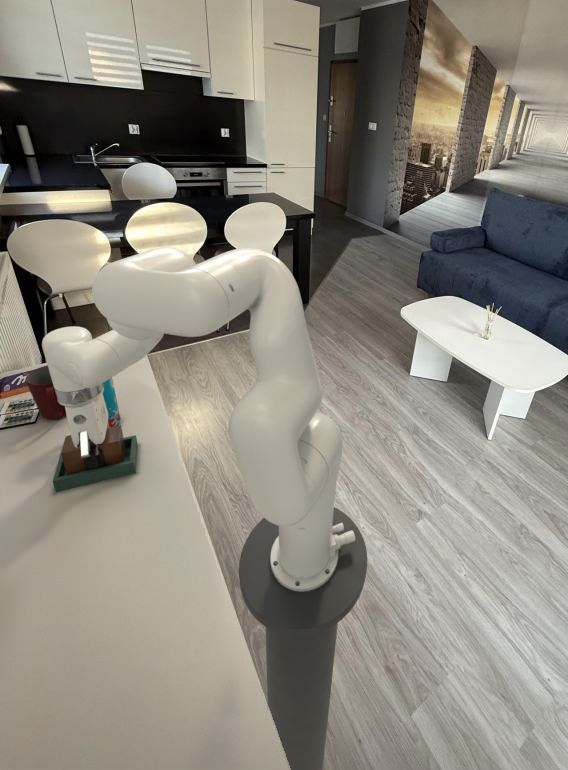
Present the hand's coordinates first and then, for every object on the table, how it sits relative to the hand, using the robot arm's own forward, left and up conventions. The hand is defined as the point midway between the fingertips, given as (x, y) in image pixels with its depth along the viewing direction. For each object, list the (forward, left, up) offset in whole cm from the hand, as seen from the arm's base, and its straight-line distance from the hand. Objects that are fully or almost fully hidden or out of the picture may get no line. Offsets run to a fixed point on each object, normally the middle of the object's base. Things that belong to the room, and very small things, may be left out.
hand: (97, 457), depth 84 cm
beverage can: (0, -14, -3) cm, 14 cm away
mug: (+11, -22, -3) cm, 25 cm away
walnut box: (0, 0, -1) cm, 1 cm away
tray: (0, 0, -3) cm, 3 cm away
